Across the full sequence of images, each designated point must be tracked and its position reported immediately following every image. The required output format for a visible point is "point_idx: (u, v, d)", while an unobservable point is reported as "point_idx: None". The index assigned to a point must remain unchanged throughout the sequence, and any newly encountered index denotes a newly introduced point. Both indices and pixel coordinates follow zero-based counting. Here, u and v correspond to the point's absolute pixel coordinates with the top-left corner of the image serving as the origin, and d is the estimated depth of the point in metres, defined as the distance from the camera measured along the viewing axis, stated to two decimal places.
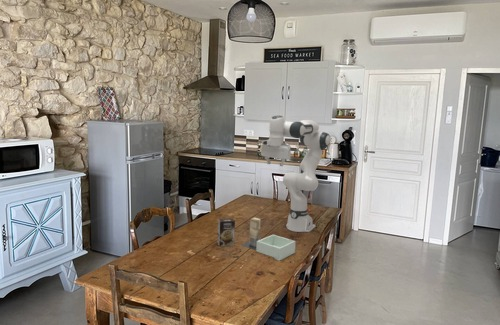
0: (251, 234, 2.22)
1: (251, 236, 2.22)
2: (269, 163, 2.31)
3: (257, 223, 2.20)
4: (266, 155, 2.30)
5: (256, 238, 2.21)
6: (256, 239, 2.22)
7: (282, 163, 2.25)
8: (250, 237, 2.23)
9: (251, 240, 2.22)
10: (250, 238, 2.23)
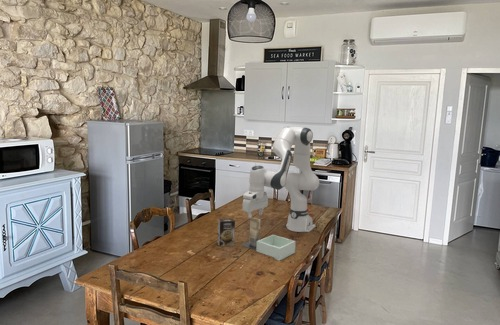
0: (251, 234, 2.22)
1: (251, 236, 2.22)
2: (251, 216, 2.18)
3: (257, 223, 2.20)
4: (252, 209, 2.15)
5: (256, 238, 2.21)
6: (256, 239, 2.22)
7: None
8: (250, 237, 2.23)
9: (251, 240, 2.22)
10: (250, 238, 2.23)
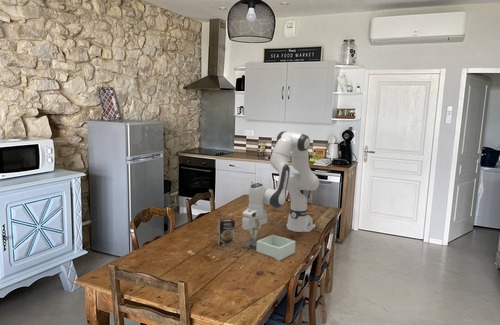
0: None
1: (251, 236, 2.22)
2: (252, 233, 2.21)
3: (257, 222, 2.20)
4: (251, 227, 2.17)
5: (256, 238, 2.21)
6: (256, 239, 2.22)
7: None
8: (250, 237, 2.23)
9: (251, 240, 2.22)
10: (250, 238, 2.23)
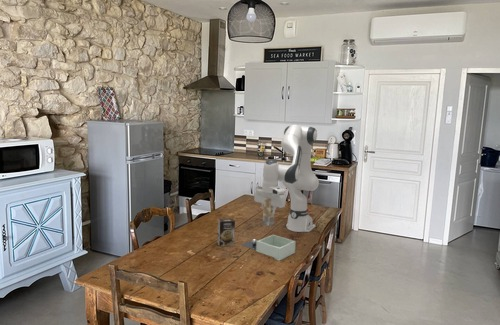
0: (271, 214, 2.14)
1: (270, 216, 2.14)
2: None
3: None
4: None
5: None
6: None
7: None
8: (270, 217, 2.14)
9: (270, 220, 2.15)
10: (270, 218, 2.14)
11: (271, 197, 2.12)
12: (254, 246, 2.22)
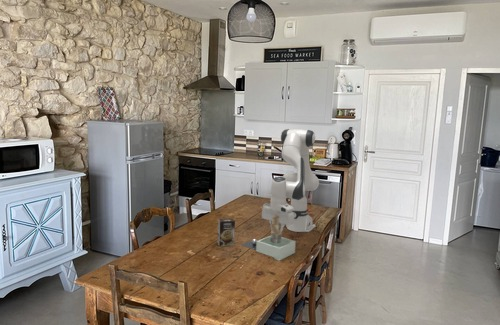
0: (279, 231, 2.12)
1: (278, 233, 2.12)
2: None
3: None
4: None
5: None
6: None
7: (271, 224, 2.16)
8: (278, 235, 2.12)
9: (278, 237, 2.13)
10: (278, 236, 2.12)
11: (279, 214, 2.10)
12: (254, 246, 2.22)
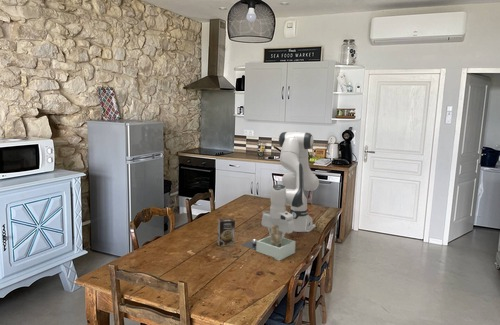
0: (278, 241, 2.13)
1: (278, 243, 2.13)
2: None
3: None
4: None
5: None
6: None
7: None
8: (277, 244, 2.12)
9: (278, 246, 2.13)
10: (278, 245, 2.13)
11: (279, 222, 2.10)
12: (254, 246, 2.22)
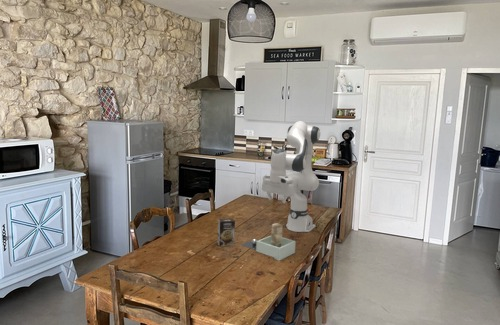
0: (278, 241, 2.13)
1: (278, 243, 2.13)
2: None
3: None
4: None
5: None
6: None
7: None
8: (278, 244, 2.12)
9: (278, 246, 2.13)
10: (278, 245, 2.13)
11: (279, 186, 2.11)
12: (254, 246, 2.22)
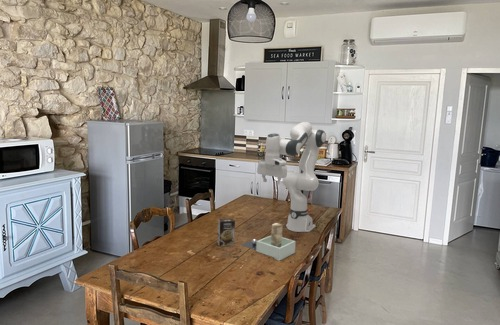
0: (278, 241, 2.13)
1: (278, 243, 2.13)
2: None
3: None
4: None
5: None
6: None
7: None
8: (278, 244, 2.12)
9: (278, 246, 2.13)
10: (278, 245, 2.13)
11: (273, 168, 2.24)
12: (254, 246, 2.22)
